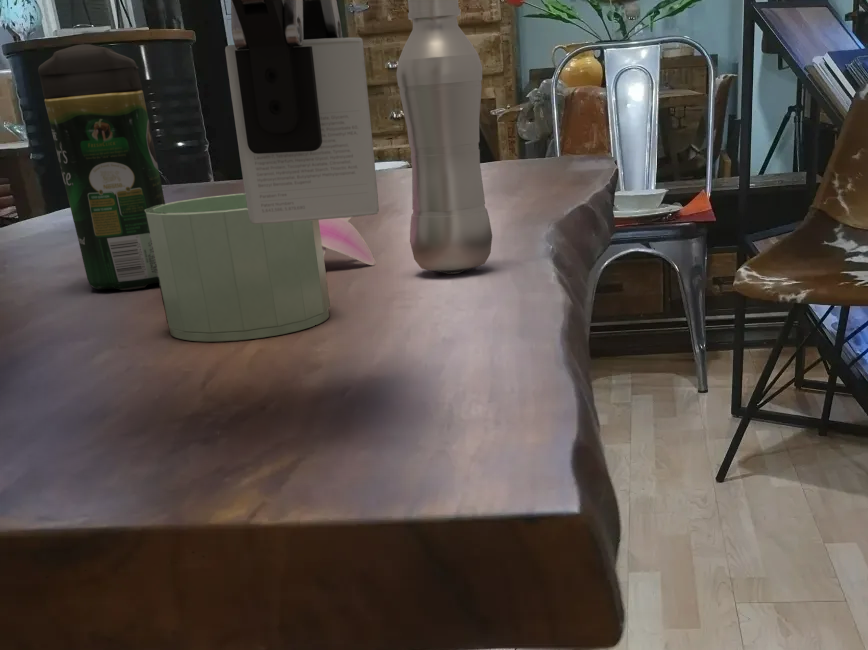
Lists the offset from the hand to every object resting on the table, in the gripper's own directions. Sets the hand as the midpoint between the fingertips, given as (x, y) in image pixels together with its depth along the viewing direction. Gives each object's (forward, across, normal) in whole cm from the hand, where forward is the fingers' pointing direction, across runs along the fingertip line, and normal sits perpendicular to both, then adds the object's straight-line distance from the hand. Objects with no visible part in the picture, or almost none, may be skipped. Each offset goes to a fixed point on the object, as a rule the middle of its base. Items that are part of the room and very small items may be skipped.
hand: (304, 141), depth 52 cm
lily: (+13, -44, -10) cm, 47 cm away
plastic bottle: (+13, -38, +3) cm, 40 cm away
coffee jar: (+13, -43, -26) cm, 52 cm away
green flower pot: (+13, -22, -10) cm, 27 cm away
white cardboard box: (+3, 0, 0) cm, 3 cm away
